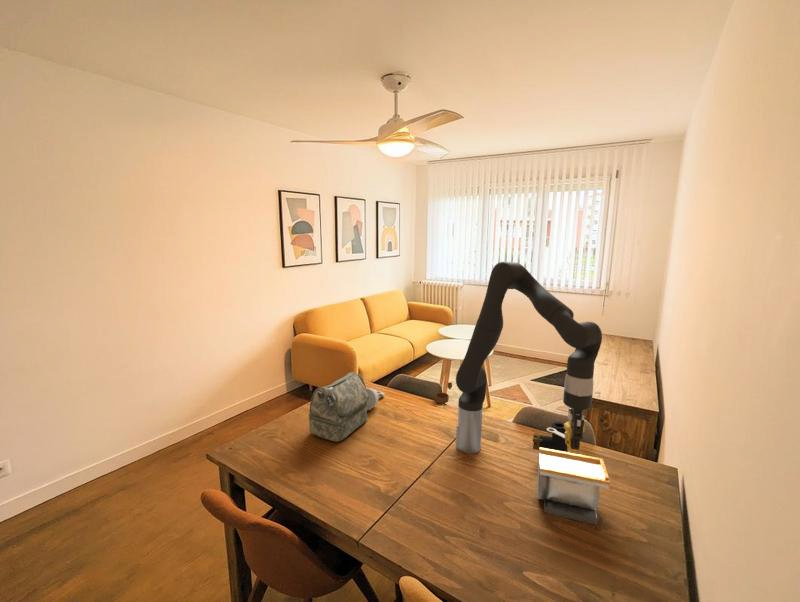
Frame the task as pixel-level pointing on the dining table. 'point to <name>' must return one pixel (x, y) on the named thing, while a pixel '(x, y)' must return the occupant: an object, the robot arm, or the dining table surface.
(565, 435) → the pressure relief valve
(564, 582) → the dining table surface
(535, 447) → the pipe connector
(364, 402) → the lunch bag
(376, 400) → the engine component
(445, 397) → the place setting
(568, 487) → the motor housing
